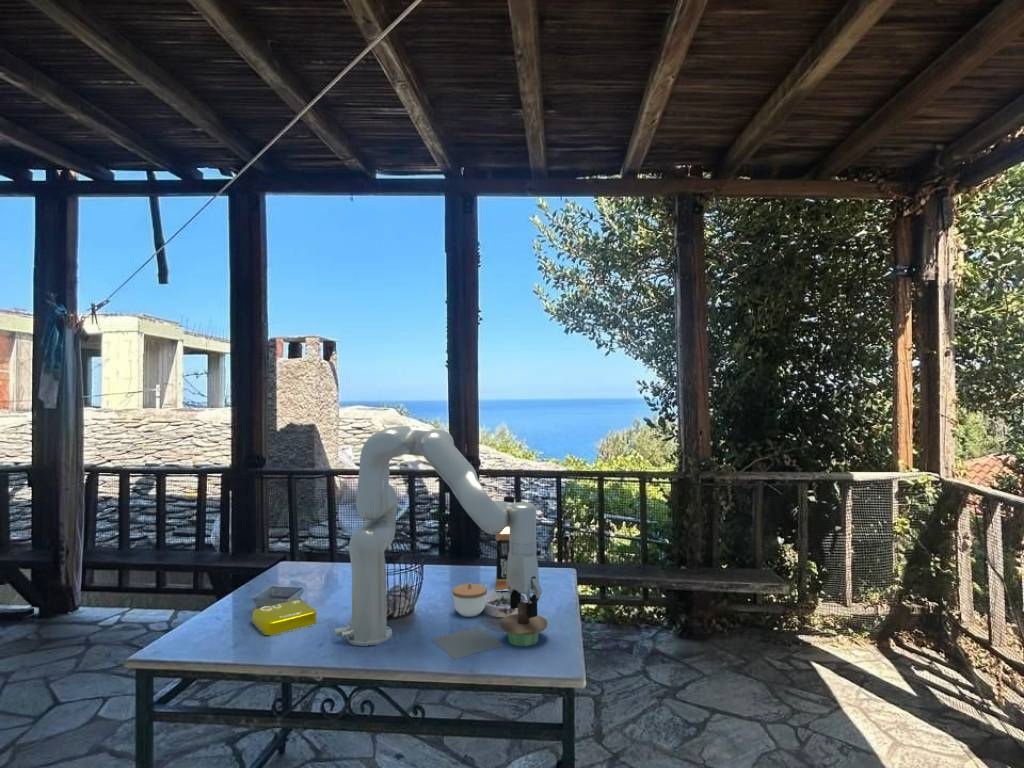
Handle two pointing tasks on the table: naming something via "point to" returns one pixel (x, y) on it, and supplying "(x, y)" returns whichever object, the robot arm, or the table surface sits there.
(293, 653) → the table surface
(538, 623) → the walnut lid
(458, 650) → the slate mat
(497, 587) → the whiskey bottle
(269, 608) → the element tile
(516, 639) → the ramekin
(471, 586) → the lidded jar
